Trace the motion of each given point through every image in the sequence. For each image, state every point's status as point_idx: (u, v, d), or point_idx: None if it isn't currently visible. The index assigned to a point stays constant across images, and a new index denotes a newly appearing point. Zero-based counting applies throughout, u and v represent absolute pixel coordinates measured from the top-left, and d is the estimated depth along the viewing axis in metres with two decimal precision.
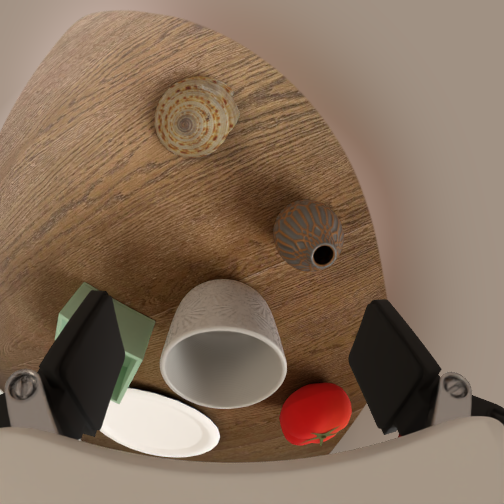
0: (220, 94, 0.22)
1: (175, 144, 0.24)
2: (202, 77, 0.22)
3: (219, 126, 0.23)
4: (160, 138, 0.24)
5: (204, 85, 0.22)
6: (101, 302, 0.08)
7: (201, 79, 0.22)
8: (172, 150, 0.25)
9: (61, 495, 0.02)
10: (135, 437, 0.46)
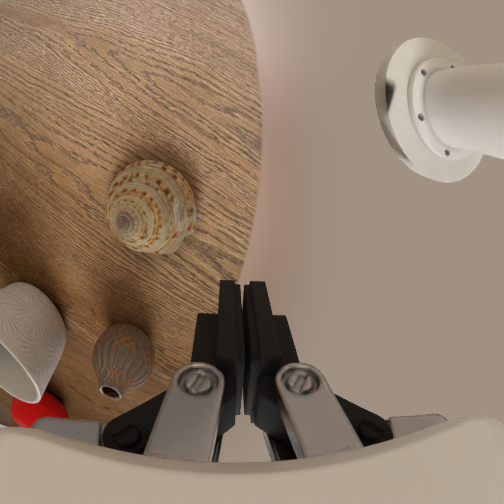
0: (178, 227, 0.22)
1: (108, 215, 0.21)
2: (189, 194, 0.22)
3: (146, 247, 0.22)
4: (109, 189, 0.21)
5: (178, 206, 0.21)
6: (237, 290, 0.09)
7: (186, 196, 0.21)
8: (105, 209, 0.22)
9: (61, 495, 0.02)
10: None
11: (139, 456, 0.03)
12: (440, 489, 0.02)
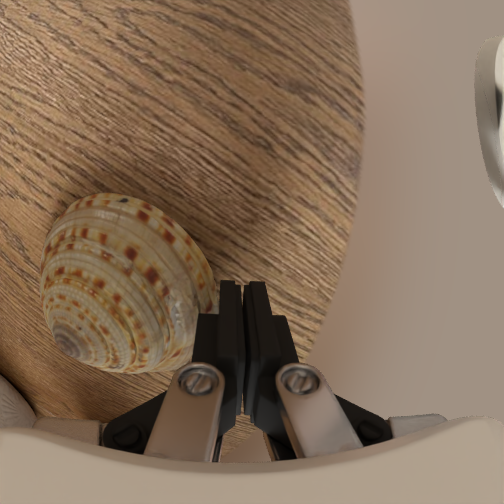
0: (184, 342, 0.10)
1: (43, 311, 0.09)
2: (204, 274, 0.10)
3: (123, 372, 0.10)
4: (42, 253, 0.09)
5: (182, 305, 0.09)
6: (237, 290, 0.09)
7: (196, 282, 0.10)
8: None
9: (61, 495, 0.02)
10: None
11: (139, 456, 0.03)
12: (440, 489, 0.02)
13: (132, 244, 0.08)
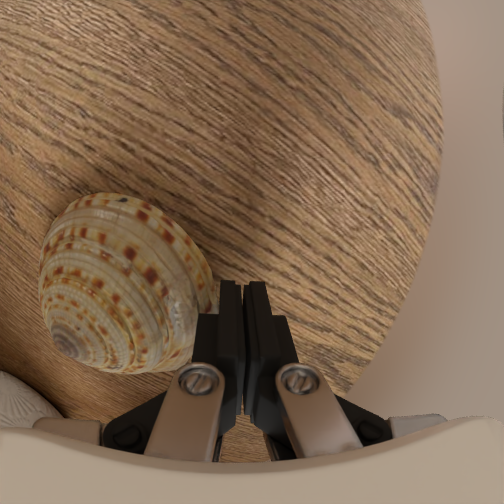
0: (184, 343, 0.10)
1: (42, 311, 0.09)
2: (204, 274, 0.10)
3: (122, 373, 0.10)
4: (41, 253, 0.09)
5: (181, 305, 0.09)
6: (238, 290, 0.09)
7: (196, 283, 0.09)
8: None
9: (61, 495, 0.02)
10: None
11: (139, 456, 0.03)
12: (440, 489, 0.02)
13: (131, 244, 0.08)
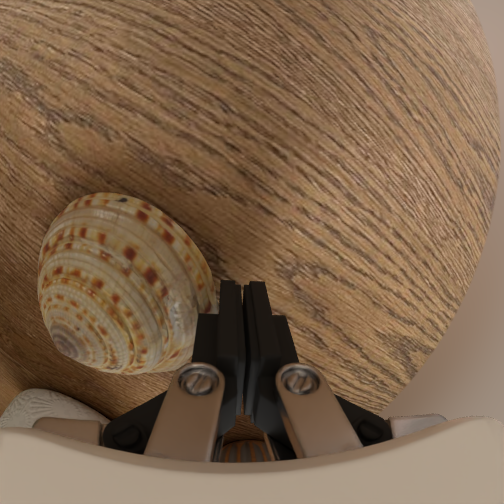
0: (183, 343, 0.10)
1: (41, 311, 0.09)
2: (203, 275, 0.10)
3: (121, 373, 0.10)
4: (40, 253, 0.09)
5: (181, 306, 0.09)
6: (238, 290, 0.09)
7: (195, 283, 0.09)
8: None
9: (61, 495, 0.02)
10: None
11: (139, 456, 0.03)
12: (440, 489, 0.02)
13: (131, 244, 0.08)
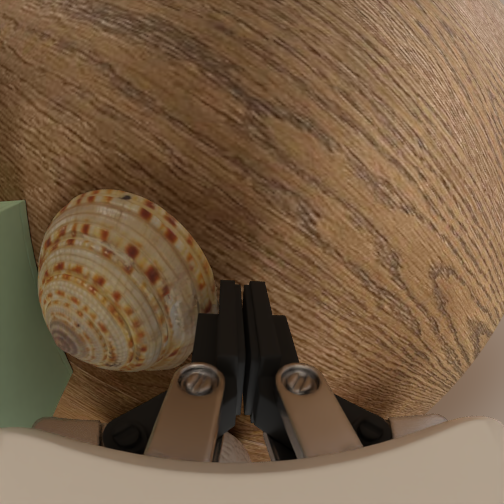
0: (182, 342, 0.10)
1: None
2: (205, 274, 0.10)
3: None
4: (41, 248, 0.09)
5: (181, 305, 0.09)
6: (237, 290, 0.09)
7: (197, 282, 0.10)
8: None
9: (61, 495, 0.02)
10: None
11: (139, 456, 0.03)
12: (440, 489, 0.02)
13: (134, 242, 0.08)
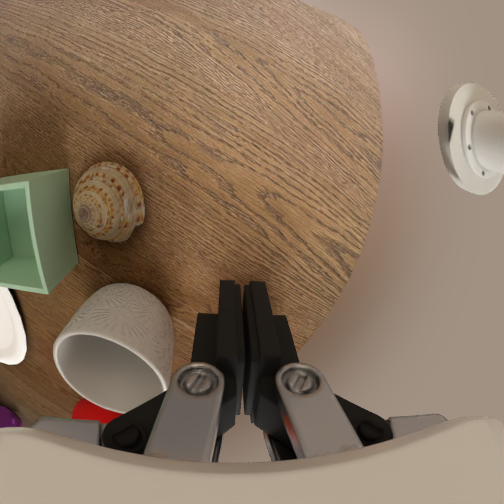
0: (128, 219, 0.24)
1: (73, 207, 0.23)
2: (138, 190, 0.24)
3: (102, 235, 0.24)
4: (76, 186, 0.23)
5: (128, 200, 0.24)
6: (237, 290, 0.09)
7: (134, 192, 0.24)
8: None
9: (61, 495, 0.02)
10: None
11: (139, 456, 0.03)
12: (440, 489, 0.02)
13: (113, 177, 0.23)
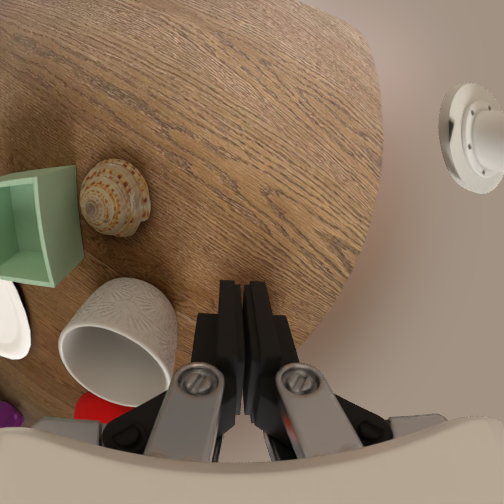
0: (134, 214, 0.25)
1: (80, 203, 0.24)
2: (144, 186, 0.25)
3: (108, 230, 0.25)
4: (83, 182, 0.24)
5: (134, 196, 0.24)
6: (237, 290, 0.09)
7: (140, 189, 0.25)
8: None
9: (61, 495, 0.02)
10: None
11: (139, 456, 0.03)
12: (440, 489, 0.02)
13: (120, 174, 0.24)
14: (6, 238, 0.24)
